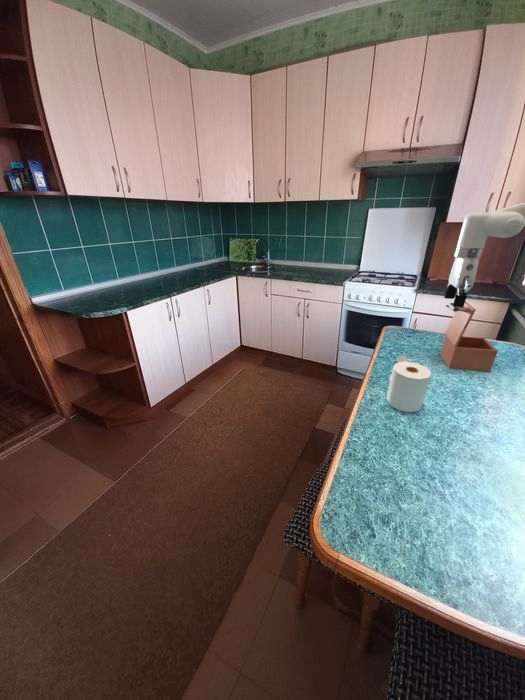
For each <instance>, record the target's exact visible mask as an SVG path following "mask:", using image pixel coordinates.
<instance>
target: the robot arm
mask: <svg viewBox="0 0 525 700" xmlns="http://www.w3.org/2000/svg"><path fill="white" fill-rule="evenodd" d="M524 228H525V202H522V203H521V202H520V203H517V204H514V205H510V206H506V207H503V208H499V209H495V210H492V211H491V212H489V211H472V212H468V213H467V214H466V215H465V217H464V219H463V222H462V226H461V229H460V233H459V236H458V240H457V242H456V243H457V244H456V247H455V251H454V254H453V257H454V261H453V264H452V267H451V270H450V273H449V275H448V276H449V277H448V283H447V286H446V290H445V293H444V296H443V297H444V299H447V300H448V299H450V300H453V299H454V301H453V302H452V303H453V306H454V307H463V306H464V304H465V301H466V300H467V297H468V295H469V293H470V290H471V289H472V288H473V287H474V284H475V281H476V277H477V272H478V268H479V263H480V262H479V261H480V259H481V257H482V255H483V251H484V248H485V244H486V241H487V239H488V237H493V238H501V239H507V238H511V237H514V236H516V235H518V234H519V233H521V231H522V230H523V229H524Z"/></svg>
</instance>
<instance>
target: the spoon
mask: <svg viewBox="0 0 525 700" xmlns="http://www.w3.org/2000/svg"><path fill="white" fill-rule="evenodd" d="M395 361H396V363H399V362H404V361H406V362H409V361H408V357H407V356H406V355H399V356H398V357H397V358H396V359H395ZM391 375H392V373H391V374H390V375H389V377H388V381H389V382H390V379H391Z"/></svg>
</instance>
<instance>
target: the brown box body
mask: <svg viewBox="0 0 525 700" xmlns="http://www.w3.org/2000/svg"><path fill="white" fill-rule="evenodd" d="M498 353H499V350H498V349H496V347H495V346H494V345H492V344H491V342H489V341H488V340H487V339H486V338H485V337H480V336H479V337H477V336H464V335H463V336H462V337H461V339H460V341H459V343H458V345H457V347H456V346H454V345H453V343H452V342H451V341H450V340H449V338H448V337H447V336H446V335H445V336H444V338H443V343H442V346H441V349H440V353H439V356H440V357H441V358H442V360H443V362H444V363H445V364H446V366H447V368H448V369H452V370H453V369H454V370H462V371H463V370H464V371H473V372H484V373H490V372H491V370H492V367H493V365H494V363H495V360H496V357H497V355H498Z"/></svg>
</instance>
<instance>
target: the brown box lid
mask: <svg viewBox="0 0 525 700" xmlns="http://www.w3.org/2000/svg"><path fill="white" fill-rule="evenodd" d="M453 303H454V302H450V303H448V308H450V310H452V311H453V312H454V314H453V315H452V318H451V320H450V322H449V324H448V327H447V328H446V330H445V333H444V334H445V336H447V337H448V338H449V340H450V341H451V342H452V343H453V345H454V346H456V347H457V345H458V343H459V341H460V339H461V337H462V336H464V333H465V332H466V330H467V328H468V326H469V324H470V322H471V320H472V318H473V316H474V315H475V313H476V309H475V307H473V306H472V305H470V303H468V302H467V301H466V300H465V304H464V306H463V307H454V306H453Z"/></svg>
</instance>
